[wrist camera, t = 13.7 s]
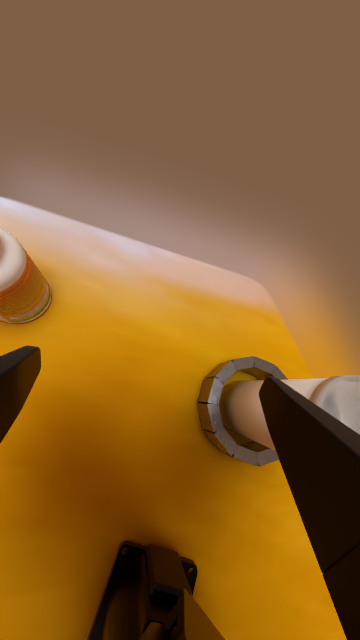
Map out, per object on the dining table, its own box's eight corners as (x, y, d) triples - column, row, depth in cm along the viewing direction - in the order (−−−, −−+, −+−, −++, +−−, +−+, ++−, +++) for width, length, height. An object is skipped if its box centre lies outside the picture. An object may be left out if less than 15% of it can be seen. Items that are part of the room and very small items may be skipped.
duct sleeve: (241, 446, 22) (381, 525, 10) (206, 404, 22) (297, 430, 10) (272, 407, 24) (425, 432, 11) (239, 369, 24) (352, 354, 12)
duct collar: (270, 468, 22) (292, 478, 19) (186, 437, 21) (196, 444, 18) (284, 379, 25) (304, 377, 22) (212, 349, 24) (223, 343, 21)
